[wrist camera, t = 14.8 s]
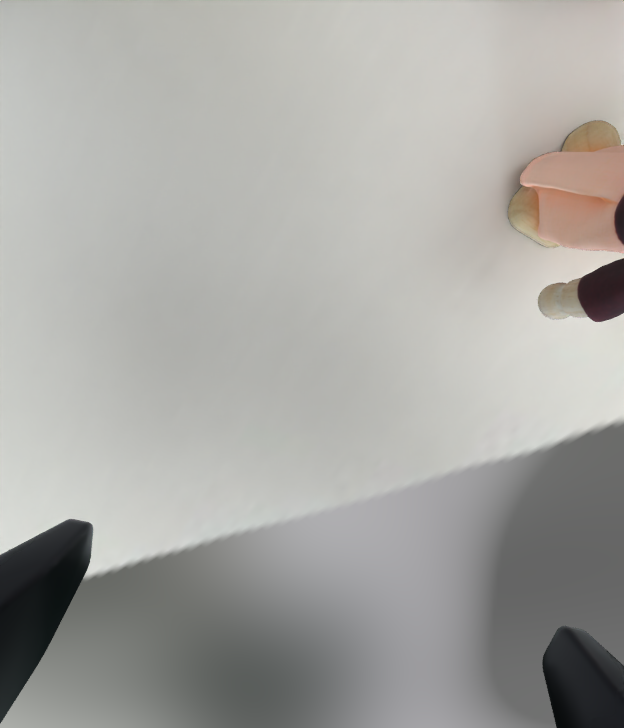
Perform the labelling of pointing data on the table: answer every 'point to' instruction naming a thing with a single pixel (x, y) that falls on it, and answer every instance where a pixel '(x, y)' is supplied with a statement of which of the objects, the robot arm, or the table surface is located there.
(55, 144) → the table surface
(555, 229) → the grandmother figurine
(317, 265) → the table surface
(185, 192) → the table surface
